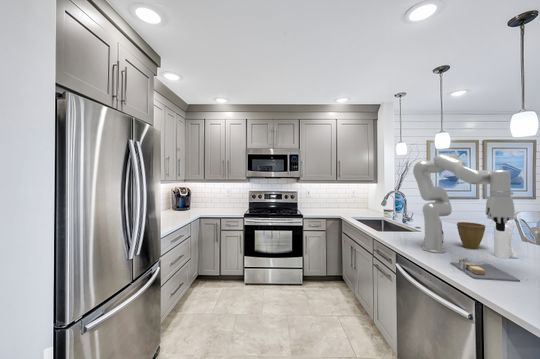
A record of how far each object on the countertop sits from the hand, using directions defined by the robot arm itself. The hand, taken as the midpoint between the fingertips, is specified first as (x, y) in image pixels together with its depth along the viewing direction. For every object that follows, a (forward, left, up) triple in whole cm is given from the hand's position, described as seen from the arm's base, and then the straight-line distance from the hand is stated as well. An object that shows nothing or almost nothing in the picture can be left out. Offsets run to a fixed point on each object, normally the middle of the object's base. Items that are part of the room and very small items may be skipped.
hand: (500, 230), depth 119 cm
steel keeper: (+1, -13, -21) cm, 25 cm away
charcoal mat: (+1, -9, -21) cm, 23 cm away
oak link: (0, -13, -20) cm, 24 cm away
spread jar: (-58, -6, -21) cm, 62 cm away
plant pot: (-44, +11, -21) cm, 50 cm away
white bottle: (-26, +18, -21) cm, 38 cm away
